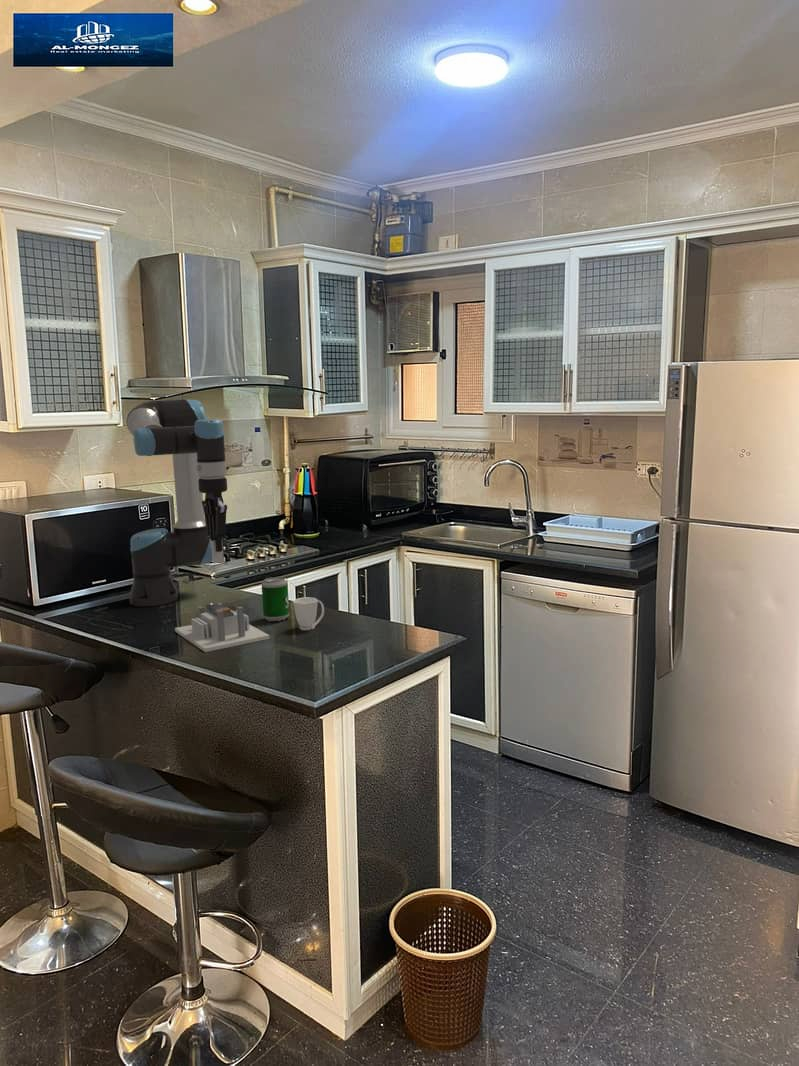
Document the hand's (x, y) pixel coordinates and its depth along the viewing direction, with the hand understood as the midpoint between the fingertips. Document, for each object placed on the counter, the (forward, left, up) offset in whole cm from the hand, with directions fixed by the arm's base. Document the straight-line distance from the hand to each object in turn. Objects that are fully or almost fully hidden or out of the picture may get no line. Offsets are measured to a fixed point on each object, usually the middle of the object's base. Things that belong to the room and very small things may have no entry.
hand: (218, 562), depth 216 cm
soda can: (-3, +18, -20) cm, 27 cm away
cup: (+11, +22, -20) cm, 32 cm away
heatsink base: (+2, -1, -20) cm, 20 cm away
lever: (+2, -1, -13) cm, 14 cm away
